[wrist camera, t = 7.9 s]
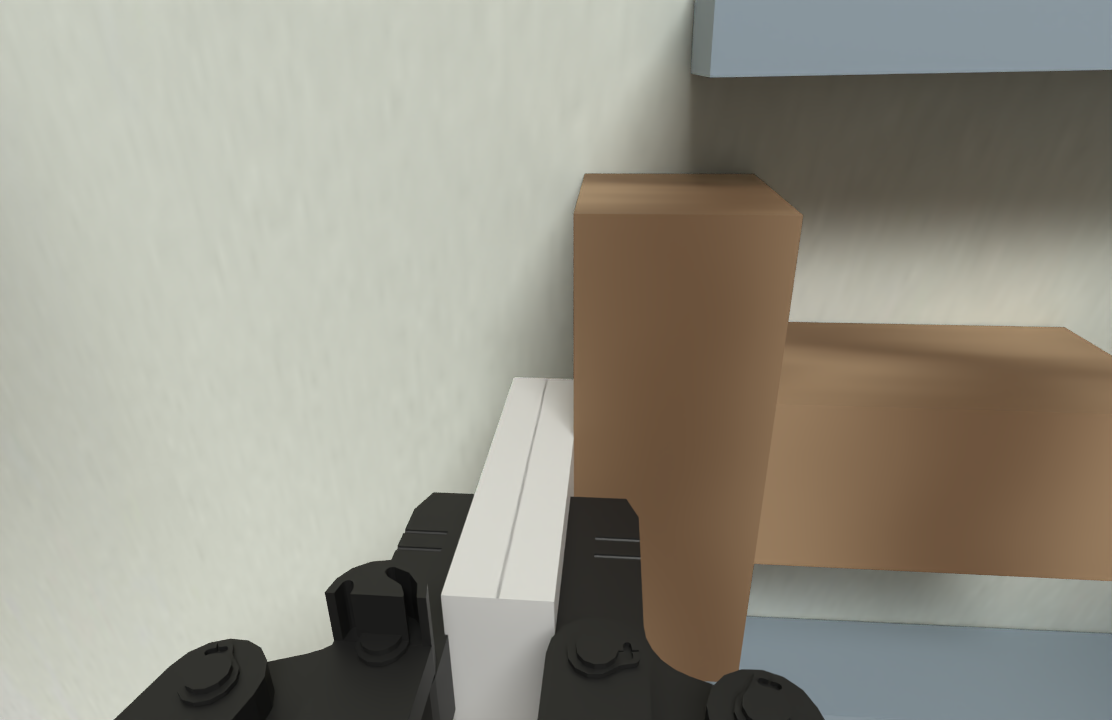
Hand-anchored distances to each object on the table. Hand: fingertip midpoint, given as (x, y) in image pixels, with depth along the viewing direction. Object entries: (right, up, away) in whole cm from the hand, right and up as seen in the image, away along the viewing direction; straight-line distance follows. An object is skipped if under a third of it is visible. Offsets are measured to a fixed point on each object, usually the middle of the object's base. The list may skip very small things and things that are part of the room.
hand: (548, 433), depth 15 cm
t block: (+6, +1, +1) cm, 6 cm away
